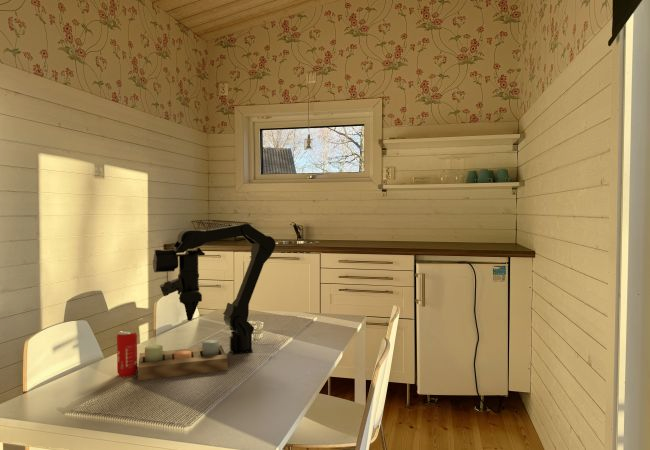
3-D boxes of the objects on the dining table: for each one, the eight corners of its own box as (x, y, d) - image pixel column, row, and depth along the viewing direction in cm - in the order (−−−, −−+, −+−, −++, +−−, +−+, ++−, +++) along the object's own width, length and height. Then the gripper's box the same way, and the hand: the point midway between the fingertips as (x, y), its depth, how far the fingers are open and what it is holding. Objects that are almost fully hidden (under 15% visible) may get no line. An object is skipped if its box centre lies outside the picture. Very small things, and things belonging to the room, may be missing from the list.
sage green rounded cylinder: (217, 352, 145) (217, 339, 145) (219, 356, 140) (219, 343, 140) (201, 353, 143) (201, 340, 143) (203, 358, 139) (203, 344, 139)
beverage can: (130, 378, 130) (129, 335, 130) (113, 377, 131) (112, 334, 131) (141, 372, 135) (140, 330, 135) (125, 371, 136) (124, 329, 136)
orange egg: (190, 363, 142) (190, 349, 142) (192, 368, 138) (191, 354, 138) (174, 364, 141) (173, 351, 141) (174, 369, 136) (174, 356, 136)
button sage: (162, 357, 140) (162, 344, 139) (162, 362, 135) (162, 348, 135) (145, 359, 138) (145, 345, 138) (144, 364, 133) (144, 350, 133)
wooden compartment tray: (221, 356, 150) (221, 345, 150) (227, 370, 137) (227, 358, 137) (140, 364, 142) (139, 353, 142) (138, 380, 129) (138, 367, 129)
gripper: (161, 268, 153) (161, 316, 153) (161, 275, 135) (162, 329, 136) (196, 266, 157) (197, 313, 157) (201, 273, 139) (202, 326, 140)
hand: (189, 320), depth 147 cm, fingers closed
